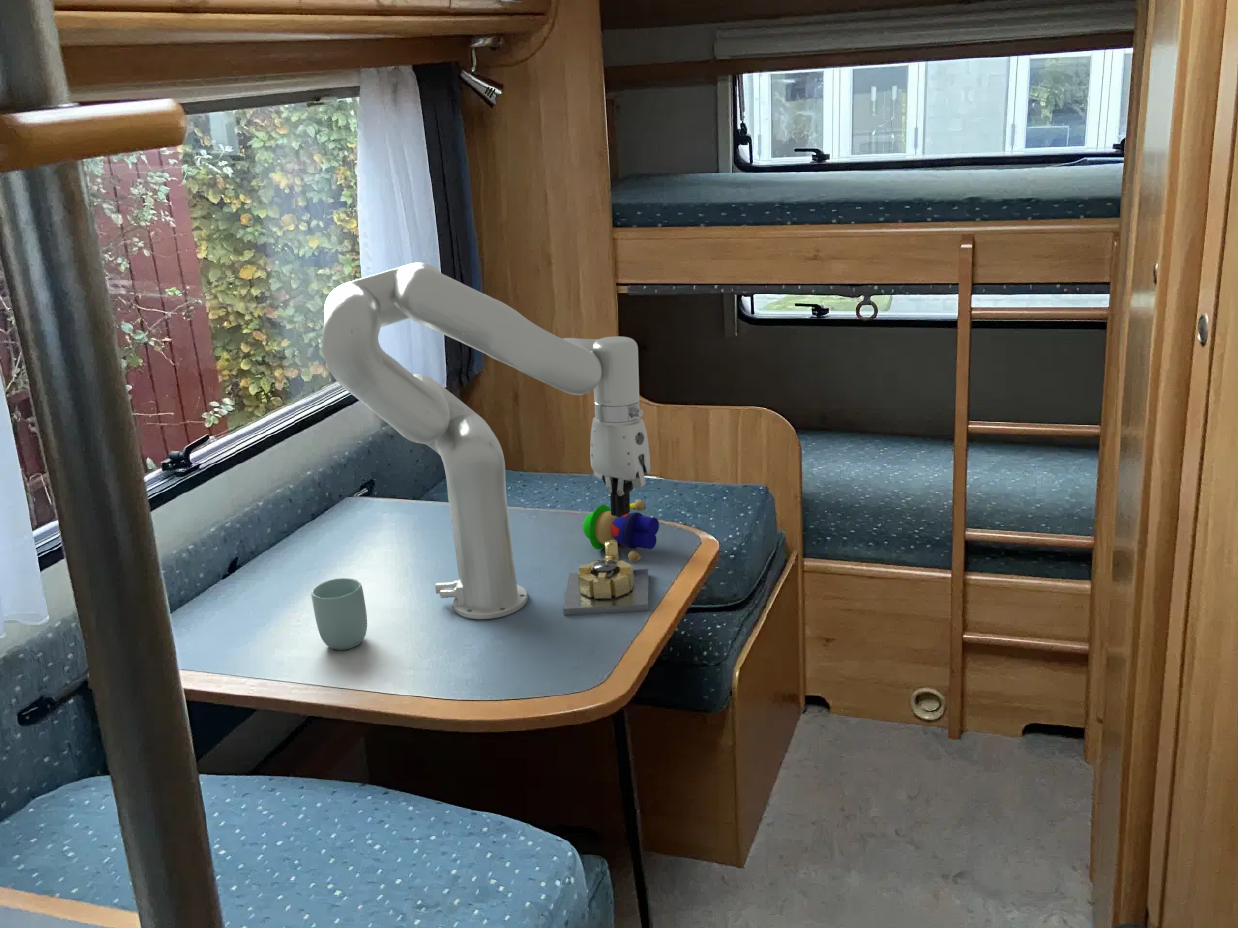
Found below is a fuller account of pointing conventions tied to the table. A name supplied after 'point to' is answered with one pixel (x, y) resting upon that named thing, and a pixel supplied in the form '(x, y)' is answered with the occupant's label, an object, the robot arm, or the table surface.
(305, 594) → the table surface
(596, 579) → the ring nut
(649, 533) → the toy
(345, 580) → the cup
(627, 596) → the base plate
